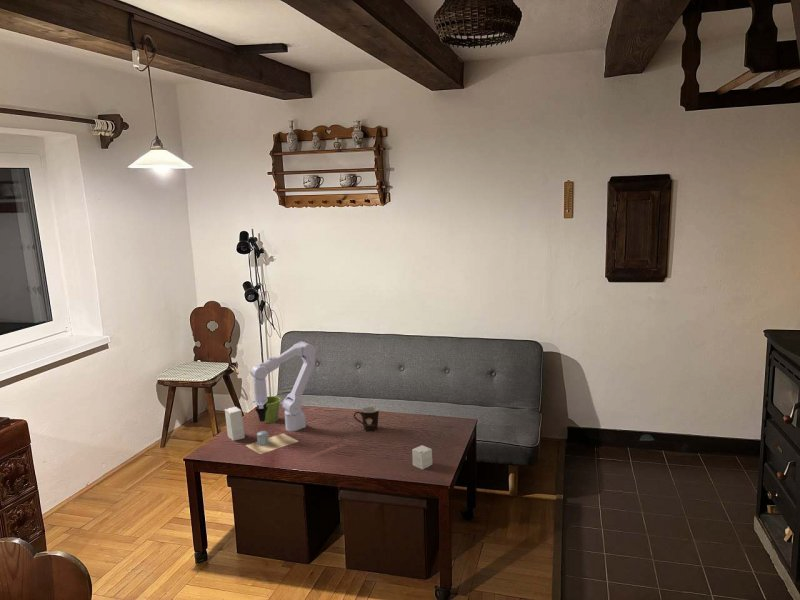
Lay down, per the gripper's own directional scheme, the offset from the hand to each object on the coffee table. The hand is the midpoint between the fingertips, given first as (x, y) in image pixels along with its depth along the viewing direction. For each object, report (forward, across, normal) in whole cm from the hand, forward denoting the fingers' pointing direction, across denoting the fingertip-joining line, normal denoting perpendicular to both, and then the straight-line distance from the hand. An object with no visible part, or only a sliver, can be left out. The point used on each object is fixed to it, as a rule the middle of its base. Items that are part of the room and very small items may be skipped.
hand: (262, 418), depth 302 cm
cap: (+9, +9, 0) cm, 13 cm away
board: (+10, +10, +4) cm, 15 cm away
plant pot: (+10, -23, +3) cm, 25 cm away
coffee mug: (+10, +2, +50) cm, 51 cm away
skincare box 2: (+10, +50, +66) cm, 83 cm away
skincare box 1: (+10, -3, -13) cm, 17 cm away
